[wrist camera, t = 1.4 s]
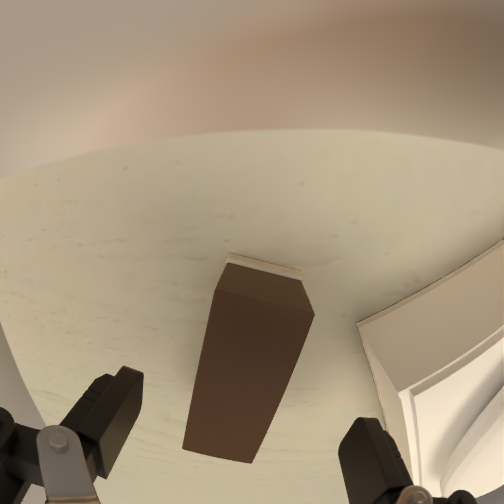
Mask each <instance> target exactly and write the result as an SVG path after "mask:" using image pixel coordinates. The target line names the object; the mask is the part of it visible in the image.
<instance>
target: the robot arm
mask: <svg viewBox="0 0 504 504" xmlns="http://www.w3.org/2000/svg"><path fill="white" fill-rule="evenodd" d="M143 379H144V374H143V372H140V371H137V370H134V369H132V368H129V367H126V366H122V367H121V369H120V370H119V371H118V373H117V374H116V375H115V376H112V375H110V374H105V375H103V376H101V377H99V378H97V379H95V380H94V382H93V383H92V384H91V385H90V387H89V388H88V390H86V391H85V393H84V394H83V396H82V397H81V398H80V399H79V400H78V402H77V403H76V404H75V405H74V407H73V408H72V409H71V410H70V412H69V413H68V414H67V416H66V417H65V418H64V419H63V421H62V422H61V423H60V424H59V425H51V426H47V427H45V428H43V429H42V430H38V429H34V428H30V427H26V426H24V425H20V424H17V423H15V422H14V420H13V418H12V415H11V414H10V413H9V412H8V411H7V410H5V409H4V408H1V407H0V504H21V502H22V500H23V498H24V496H25V494H26V493H27V491H28V489H29V487H30V485H31V484H35V485H39V486H42V487H44V488H45V493H46V497H47V500H46V501H45V504H101V503H100V501H99V498H98V496H97V493H96V491H95V488H94V485H93V483H94V481H95V479H96V477H97V475H98V476H100V477H102V478H104V479H107V477H108V475H109V473H110V471H111V469H112V467H113V465H114V463H115V461H116V459H117V457H118V455H119V453H120V451H121V449H122V447H123V445H124V443H125V441H126V439H127V437H128V435H129V433H130V431H131V429H132V427H133V425H134V423H135V421H136V420H137V418H138V415H139V413H140V410H141V405H142V394H143ZM338 456H339V460H340V465H341V469H342V473H343V477H344V482H345V486H346V490H347V495H348V499H349V504H477V502H476V500H475V498H474V496H473V495H472V494H471V493H470V492H468V491H466V490H457V491H455V492H453V493H452V494H451V495H450V496H449V497H448V498H439V497H432V496H431V494H430V493H429V491H428V490H426V489H425V488H423V487H421V486H417V485H414V484H413V482H412V479H411V477H410V475H409V472H408V470H407V468H406V465H405V463H404V461H403V458H401V454H400V452H399V450H398V447H397V445H396V443H395V441H394V439H393V438H392V437H391V436H390V434H389V433H388V432H387V431H386V430H383V429H382V427H381V424H380V422H379V420H378V419H377V418H364V417H359V418H357V419H356V420H355V421H354V423H353V425H352V426H351V428H350V429H349V431H348V432H347V434H346V435H345V437H344V438H343V440H342V441H341V443H340V446H339V450H338Z"/></svg>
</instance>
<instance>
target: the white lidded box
mask: <svg viewBox="0 0 504 504" xmlns="http://www.w3.org/2000/svg"><path fill="white" fill-rule="evenodd" d="M356 325H357V328H358V331H359V334H360V337H361V340H362V343H363V347H364V350H365V353H366V356H367V359H368V363H369V366H370V369H371V372H372V376H373V379H374V383H375V386H376V389H377V393H378V397H379V400H380V404H381V407H382V411H383V415H384V419H385V423H386V427H387V431H388V433H389V434H390V436H391V437H392V438H393V439H394V441H395V443H396V445H397V447H398V450H399V452H400V454H401V458H403V461H404V463H405V465H406V468H407V470H408V472H409V475H410V477H411V479H412V482H413V484H414V485H417V486H421V487H423V488H425V489H426V490H428V491H429V493H430V494H431V496H432V497H441V496H442V495H443V496H445V497H446V498H448V497H449V496H450V495H451V494H452V493H453V492H455V491H457V490H466V491H468V492H470V493H471V494H472V495H473V496H474V498H476V497H479V496H481V495H484V494H486V493H488V492H490V491H493V490H495V489H496V488H498V487H500V486H502V485H503V484H504V239H502V240H501V241H499V242H498V243H497V244H495V245H494V246H492V247H491V248H489V249H488V250H486V251H485V252H483V253H482V254H480V255H479V256H477V257H476V258H474V259H472V260H471V261H469V262H468V263H466V264H465V265H463V266H461V267H460V268H458V269H457V270H455V271H453V272H452V273H450V274H448V275H447V276H445V277H443V278H441V279H440V280H438V281H436V282H435V283H433V284H431V285H429V286H428V287H426V288H424V289H422V290H420V291H419V292H417V293H415V294H413V295H411V296H409V297H408V298H406V299H404V300H402V301H400V302H398V303H396V304H394V305H392V306H390V307H388V308H386V309H384V310H382V311H380V312H378V313H376V314H374V315H372V316H370V317H368V318H366V319H364V320H362V321H360V322H358V323H356Z"/></svg>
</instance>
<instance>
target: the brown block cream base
mask: <svg viewBox="0 0 504 504" xmlns="http://www.w3.org/2000/svg"><path fill="white" fill-rule="evenodd" d="M302 281H303V276H302V274H301V271H299V270H295V269H291V268H287V267H283V266H279V265H275V264H271V263H267V262H263V261H259V260H255V259H251V258H247V257H243V256H239V255H235V254H232V253H229V254H228V256H227V258H226V262H225V266H224V271H223V273H222V275H221V277H220V280H219V282H218V284H217V287H216V289H215V292H214V296H213V300H212V305H211V309H210V314H209V318H208V323H207V327H206V332H205V337H204V341H203V346H202V351H201V355H200V360H199V365H198V370H197V375H196V380H195V385H194V389H193V394H192V400H191V405H190V410H189V415H188V420H187V425H186V431H185V436H184V441H183V447H182V449H184V450H188V451H192V452H196V453H200V454H204V455H208V456H213V457H217V458H222V459H227V460H233V461H238V462H244V463H250V464H251V463H252V462H253V460H254V458H255V456H256V454H257V452H258V450H259V447H260V445H261V443H262V441H263V439H264V437H265V435H266V433H267V431H268V428H269V426H270V424H271V422H272V420H273V417H274V415H275V413H276V411H277V408H278V406H279V404H280V401H281V399H282V397H283V394H284V392H285V390H286V387H287V385H288V383H289V380H290V378H291V375H292V373H293V370H294V368H295V365H296V363H297V360H298V358H299V355H300V353H301V350H302V347H303V345H304V342H305V340H306V337H307V334H308V331H309V329H310V326H311V323H312V321H313V318H314V315H315V314H314V311H313V309H312V306H311V304H310V301H309V299H308V296H307V294H306V292H305V289H304V287H303V284H302Z"/></svg>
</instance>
